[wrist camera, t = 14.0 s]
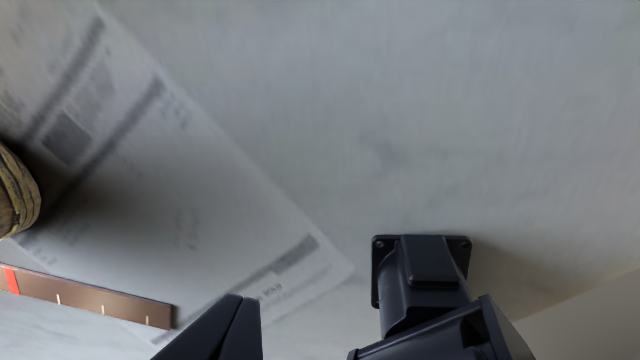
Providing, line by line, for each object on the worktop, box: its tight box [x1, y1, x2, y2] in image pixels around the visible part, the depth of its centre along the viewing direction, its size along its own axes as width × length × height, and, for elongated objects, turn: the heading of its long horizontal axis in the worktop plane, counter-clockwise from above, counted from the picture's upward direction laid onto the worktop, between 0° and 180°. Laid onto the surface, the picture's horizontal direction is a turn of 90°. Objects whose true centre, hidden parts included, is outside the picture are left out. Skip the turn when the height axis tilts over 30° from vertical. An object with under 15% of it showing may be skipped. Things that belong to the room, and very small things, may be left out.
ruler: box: [0, 263, 171, 331], centre depth 28 cm, size 20×3×1 cm, turn 77°
